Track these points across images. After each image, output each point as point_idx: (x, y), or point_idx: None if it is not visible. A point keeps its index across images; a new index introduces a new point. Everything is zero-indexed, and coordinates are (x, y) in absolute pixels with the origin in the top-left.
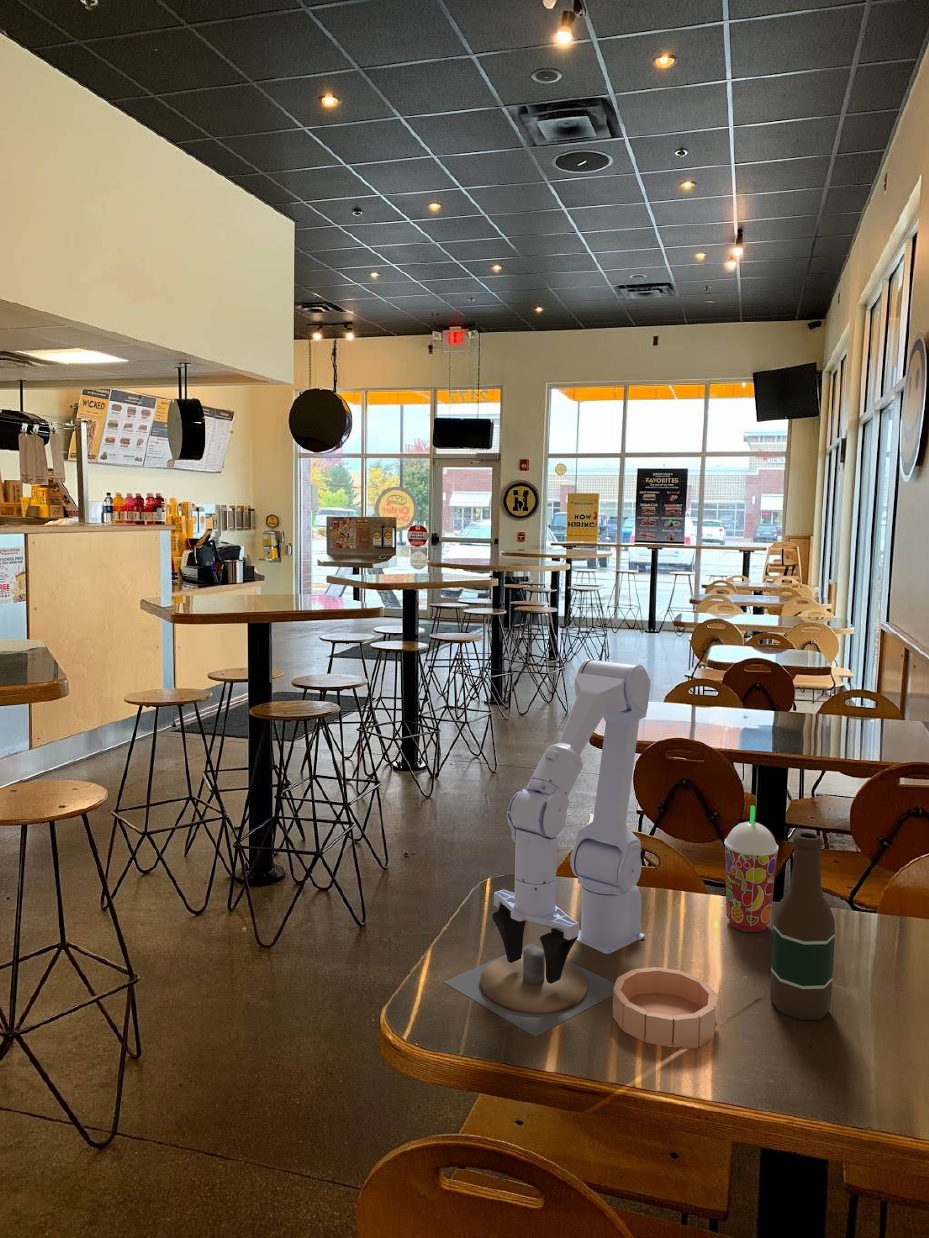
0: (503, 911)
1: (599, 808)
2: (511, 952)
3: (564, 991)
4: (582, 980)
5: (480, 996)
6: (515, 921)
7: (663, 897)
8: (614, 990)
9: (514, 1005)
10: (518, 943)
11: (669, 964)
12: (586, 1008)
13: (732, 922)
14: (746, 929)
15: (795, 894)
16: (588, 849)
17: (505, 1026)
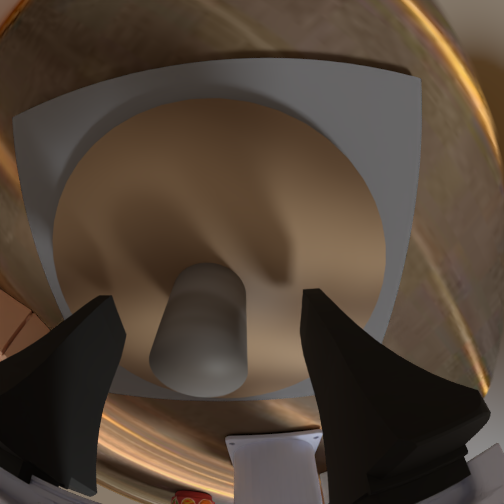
0: (433, 470)
1: None
2: (312, 319)
3: None
4: (140, 370)
5: (269, 91)
6: (346, 457)
7: None
8: (4, 353)
9: (110, 132)
10: (316, 370)
11: (158, 450)
12: (56, 300)
13: (197, 495)
14: (181, 492)
15: None
16: None
17: (95, 72)
